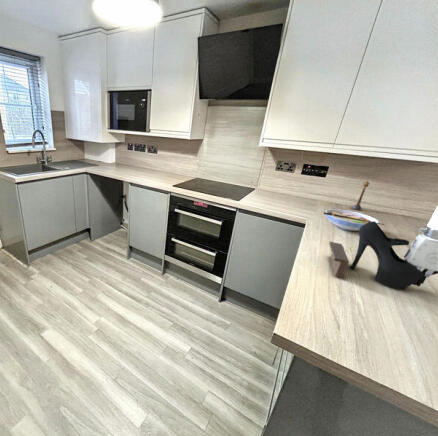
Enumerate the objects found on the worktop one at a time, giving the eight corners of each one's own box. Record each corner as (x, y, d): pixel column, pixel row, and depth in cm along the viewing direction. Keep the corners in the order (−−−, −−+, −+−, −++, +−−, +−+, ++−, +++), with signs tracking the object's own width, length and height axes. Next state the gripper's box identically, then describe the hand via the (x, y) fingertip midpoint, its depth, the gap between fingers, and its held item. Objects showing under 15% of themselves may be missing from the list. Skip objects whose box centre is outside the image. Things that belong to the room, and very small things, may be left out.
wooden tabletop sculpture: (361, 211, 162) (373, 182, 155) (352, 209, 164) (364, 181, 157) (359, 209, 167) (370, 181, 159) (351, 207, 169) (362, 180, 162)
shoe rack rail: (335, 259, 97) (341, 244, 94) (341, 278, 84) (349, 261, 81) (324, 256, 99) (329, 241, 96) (328, 274, 86) (334, 258, 83)
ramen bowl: (371, 227, 133) (377, 214, 130) (380, 242, 115) (387, 226, 112) (318, 217, 145) (322, 204, 142) (319, 228, 127) (324, 214, 124)
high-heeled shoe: (411, 297, 76) (442, 242, 68) (340, 268, 90) (360, 220, 83) (415, 288, 80) (445, 236, 73) (348, 262, 94) (367, 216, 87)
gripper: (413, 233, 74) (388, 281, 81) (485, 246, 67) (451, 298, 74) (404, 225, 80) (382, 271, 87) (469, 237, 73) (440, 285, 80)
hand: (414, 283), depth 80 cm, fingers closed
